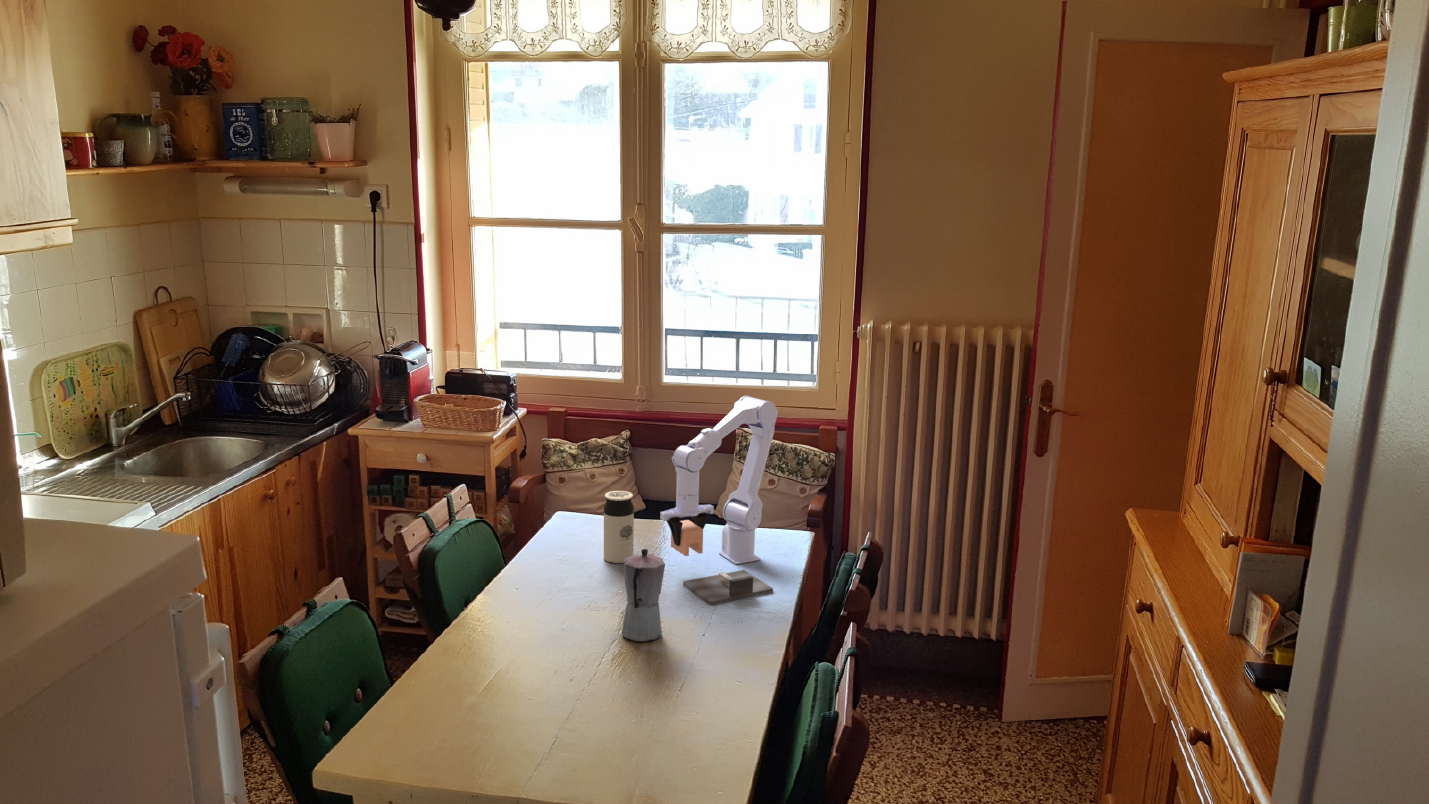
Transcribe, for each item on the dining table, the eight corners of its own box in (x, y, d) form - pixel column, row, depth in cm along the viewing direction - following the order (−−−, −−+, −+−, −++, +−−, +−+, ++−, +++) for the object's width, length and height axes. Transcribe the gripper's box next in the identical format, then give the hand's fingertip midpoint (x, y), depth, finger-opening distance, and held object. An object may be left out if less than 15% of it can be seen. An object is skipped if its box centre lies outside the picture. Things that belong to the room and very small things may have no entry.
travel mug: (599, 555, 283) (599, 492, 279) (627, 551, 286) (627, 488, 282) (609, 565, 276) (609, 500, 272) (637, 561, 279) (638, 497, 275)
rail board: (683, 585, 264) (683, 566, 263) (744, 573, 273) (744, 555, 272) (710, 605, 252) (710, 585, 251) (773, 592, 261) (773, 573, 260)
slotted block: (670, 546, 272) (671, 522, 271) (687, 543, 274) (688, 519, 273) (685, 556, 265) (685, 531, 264) (702, 553, 268) (703, 529, 266)
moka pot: (668, 622, 242) (669, 540, 238) (658, 652, 227) (659, 565, 223) (627, 620, 243) (628, 538, 238) (614, 649, 228) (615, 562, 224)
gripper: (669, 500, 260) (668, 552, 262) (720, 493, 267) (718, 543, 270) (656, 493, 266) (656, 543, 268) (706, 485, 273) (705, 535, 275)
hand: (686, 543), depth 269 cm, fingers closed on slotted block, 5 cm apart
